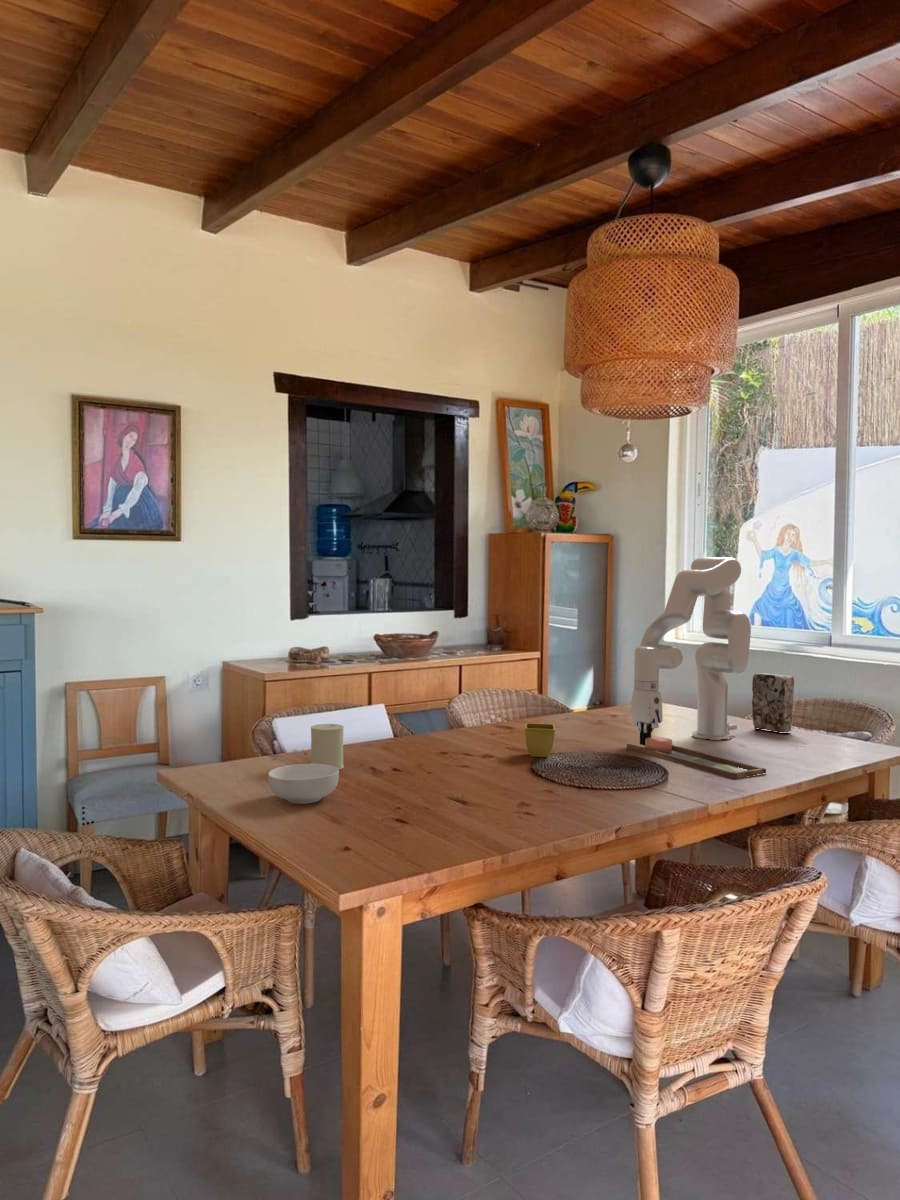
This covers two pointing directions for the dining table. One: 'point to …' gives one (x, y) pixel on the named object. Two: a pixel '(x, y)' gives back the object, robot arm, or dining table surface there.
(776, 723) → the stone block
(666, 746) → the salmon rounded disc
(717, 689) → the robot arm
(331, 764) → the can
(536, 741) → the flower pot
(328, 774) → the cereal bowl
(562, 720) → the dining table surface
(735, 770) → the trap lane
